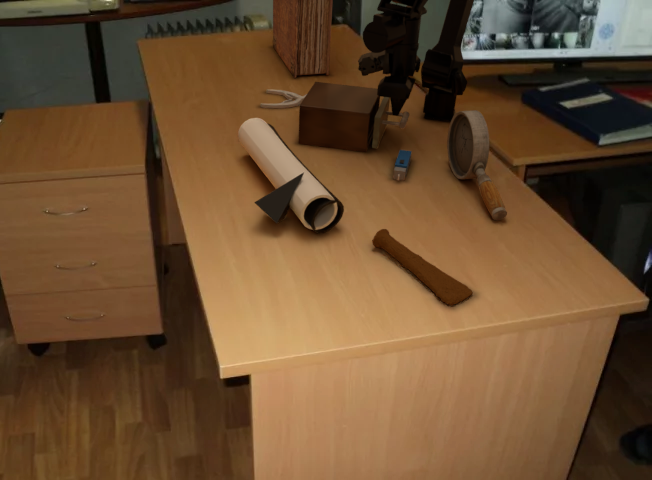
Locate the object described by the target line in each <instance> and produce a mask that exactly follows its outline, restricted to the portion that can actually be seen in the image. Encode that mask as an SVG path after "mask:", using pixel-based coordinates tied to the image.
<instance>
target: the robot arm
mask: <svg viewBox="0 0 652 480" xmlns="http://www.w3.org/2000/svg"><path fill="white" fill-rule="evenodd" d="M428 1H429V0H380V1H379V3H378V6H377V8H376V11H379V12H380V13H375V14H373V17H372V21H370V22H368V23H367V24H366V25H365V27H364V29H363V31H362V42H363V44H364V46H365V48H366V49H367V50H369V51H370V52H366V53H363V54H361V55H360V57H359V58H358V60H357V62H358V68H357V69H358V71H359V72H360V74H361V76H362V77H366V76H369V74H374V73H378V72H382V75H385V76H384V77H383V78H381V79H380V80H379V83H378V85H377V89H378V90H377V95H378V96H380V98H381V97H382V98H383V97H389V98H390V107H391V112H392V114H393V117H399V116H398V115H399V113H401V111H402V109H403V107H404V105H405V103H406V102H407V100H408V99H410V97H411V93H412V91H413V88H414V85H415V82H416V80H417V79H416V78H414V75H415V73H419V71H420V77H421V78H420V80H421V88H426V89H428V91H426V92H425V95H424V101H423V109H422V112H423V114H424V115H423V118H424V119H427V120H433V121H443V122H451V120H452V118H453V116H454V115H455V114H456V109H455V107H456V103H457V97H458V96H463V95H464V92H465V91H466V89H467V85H468V80H467V78H466V76H465V75H464V72H463V67H464V63H465V61H464V57H463V52H462V48H461V47H462V43H463V39H464V36H465V32H466V29H467V26H468V24H469V23H468V22H469V19H470V16H471V12H472V9H473V6H474V3H475V0H449V3H448V7H447V10H446V13H445V17H444V20H443V24H442V28H441V31H440V35H439V38H438V42H437V43H436V44H435V45H434V46H433V47H432V48H428V49H427V51H426V52H425V55H424V60H423V63H422V65H421V62H422V60H421V58H420V57H419V56H418V50H419V47H420V43H419V39H420V31H421V23H422V16H423V15H425V14H427V12H428V9H426V7H425V5H426V4H427V2H428Z"/></svg>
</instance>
